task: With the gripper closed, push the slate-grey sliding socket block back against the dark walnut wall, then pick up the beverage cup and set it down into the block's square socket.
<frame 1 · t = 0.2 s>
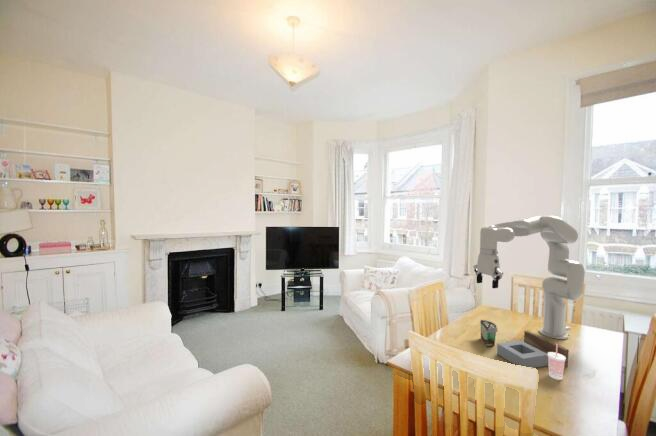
hand: (487, 285, 148), 31 cm above the table, fingers open, 9 cm apart
beverage cup: (555, 376, 122), on the table
socket block: (521, 354, 135), point 3 cm above the table, slide at 5.0 cm
walnut wall: (544, 356, 139), on the table
food container: (490, 343, 151), on the table
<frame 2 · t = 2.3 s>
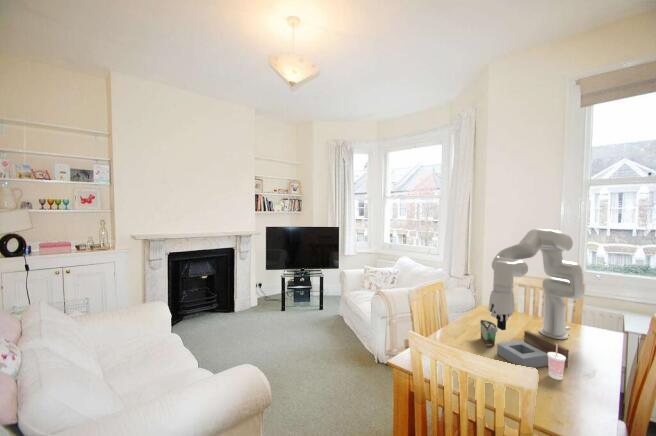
hand: (501, 328, 132), 16 cm above the table, fingers closed
nothing on the table moved.
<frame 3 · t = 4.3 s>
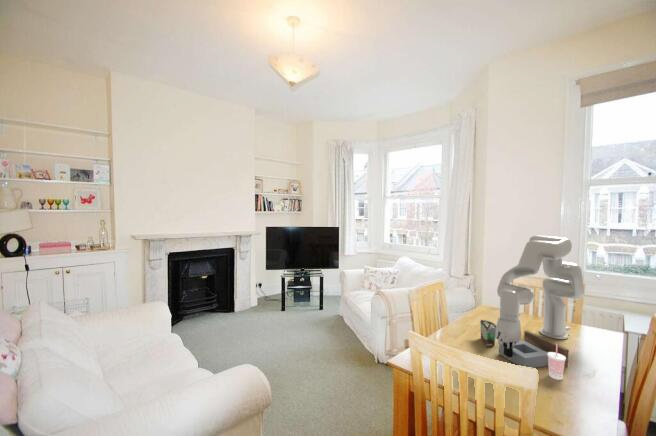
hand: (508, 355, 133), 3 cm above the table, fingers closed
socket block: (523, 353, 136), point 3 cm above the table, slide at 3.8 cm, touching gripper
everything else where it was.
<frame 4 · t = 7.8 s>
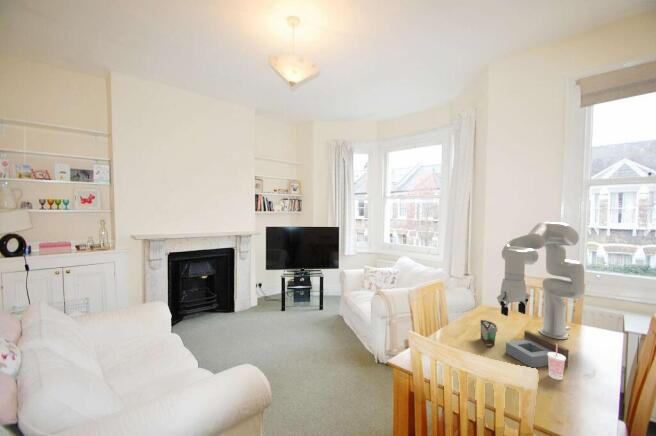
hand: (513, 313, 133), 22 cm above the table, fingers open, 9 cm apart
socket block: (530, 352, 136), point 3 cm above the table, slide at 0.0 cm
everything else where it was.
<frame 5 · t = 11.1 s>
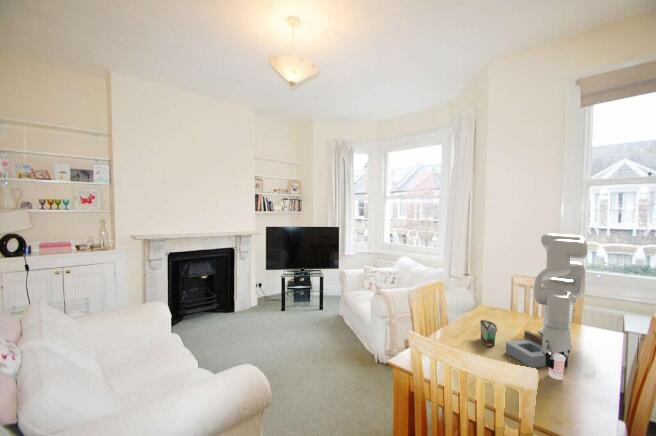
hand: (556, 365, 122), 5 cm above the table, fingers closed on beverage cup, 6 cm apart
beverage cup: (555, 376, 122), on the table, touching gripper
everything else where it was.
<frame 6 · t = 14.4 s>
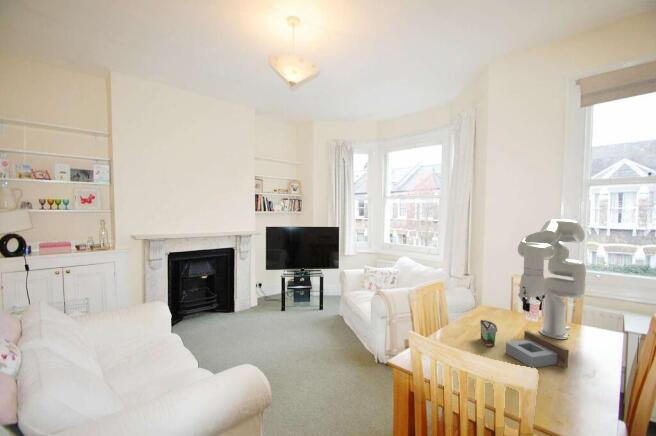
hand: (532, 309, 135), 23 cm above the table, fingers closed on beverage cup, 6 cm apart
beverage cup: (531, 319, 136), point 18 cm above the table, touching gripper
everything else where it was.
when the fingers open (7 cm above the table, at t = 17.8 s): beverage cup drops 2 cm, resting in socket block.
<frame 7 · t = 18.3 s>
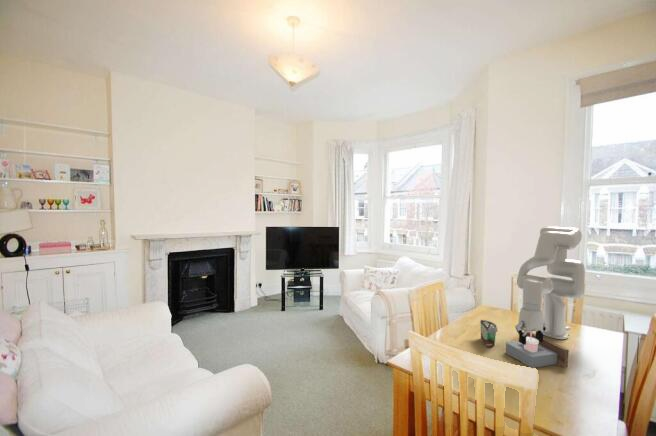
hand: (530, 342, 136), 8 cm above the table, fingers open, 9 cm apart
beverage cup: (530, 358, 137), resting in socket block
everything else where it was.
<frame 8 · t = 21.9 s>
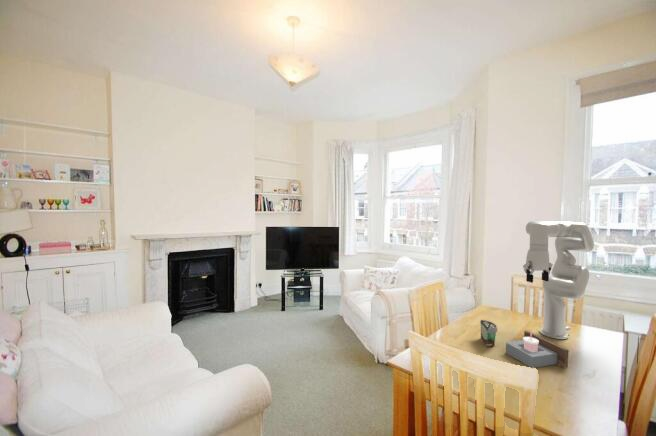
hand: (537, 281, 147), 33 cm above the table, fingers open, 9 cm apart
nothing on the table moved.
at the end: socket block slide at 0.0 cm; beverage cup 0.1 cm off-centre on the socket block, point 0.0 cm above the socket block's base; beverage cup tilted 0° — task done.
